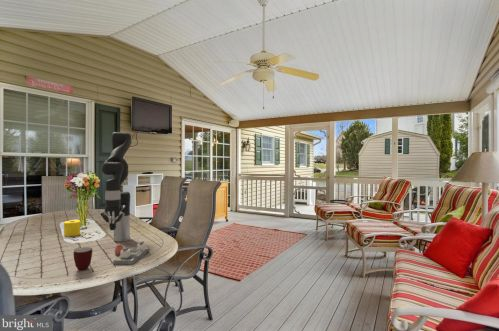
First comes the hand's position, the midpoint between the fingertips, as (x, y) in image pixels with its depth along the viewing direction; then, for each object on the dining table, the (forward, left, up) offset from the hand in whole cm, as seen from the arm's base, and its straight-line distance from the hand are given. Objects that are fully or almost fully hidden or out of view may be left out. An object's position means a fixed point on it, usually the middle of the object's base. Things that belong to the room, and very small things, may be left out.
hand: (112, 229), depth 151 cm
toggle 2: (+11, +12, -15) cm, 22 cm away
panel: (+8, +6, -17) cm, 20 cm away
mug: (-10, -12, -17) cm, 23 cm away
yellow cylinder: (-57, +49, -17) cm, 77 cm away
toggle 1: (+7, 0, -15) cm, 16 cm away
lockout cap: (-2, +10, -17) cm, 20 cm away
